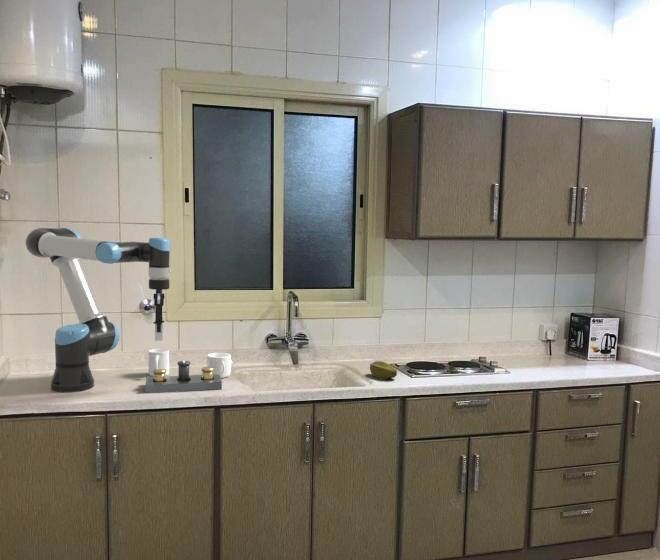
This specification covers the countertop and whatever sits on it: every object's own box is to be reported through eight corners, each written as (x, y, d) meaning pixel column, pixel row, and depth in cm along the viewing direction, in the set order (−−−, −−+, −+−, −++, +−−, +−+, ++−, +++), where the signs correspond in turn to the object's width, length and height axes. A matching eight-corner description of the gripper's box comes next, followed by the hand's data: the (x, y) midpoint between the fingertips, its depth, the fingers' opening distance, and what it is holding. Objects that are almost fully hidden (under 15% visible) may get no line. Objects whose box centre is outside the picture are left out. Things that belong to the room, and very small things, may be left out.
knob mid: (177, 381, 228) (177, 362, 227) (177, 378, 233) (177, 360, 232) (190, 380, 229) (190, 362, 229) (190, 377, 234) (190, 359, 233)
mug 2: (236, 379, 245) (237, 357, 245) (212, 381, 241) (212, 359, 240) (228, 372, 256) (228, 351, 255) (204, 374, 251) (204, 353, 251)
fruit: (369, 380, 248) (370, 364, 248) (369, 373, 260) (369, 358, 260) (397, 381, 248) (397, 365, 247) (395, 374, 260) (396, 359, 259)
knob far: (201, 387, 230) (201, 369, 230) (200, 384, 235) (201, 367, 234) (214, 386, 232) (214, 369, 231) (213, 383, 236) (213, 366, 236)
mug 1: (165, 379, 242) (165, 354, 241) (144, 379, 241) (144, 354, 241) (170, 372, 254) (170, 348, 253) (150, 372, 253) (150, 348, 252)
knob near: (152, 389, 226) (152, 371, 225) (153, 386, 230) (153, 368, 230) (166, 388, 227) (166, 371, 226) (166, 385, 232) (166, 368, 231)
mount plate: (145, 392, 222) (145, 384, 221) (146, 384, 233) (146, 377, 233) (221, 389, 229) (221, 381, 229) (219, 381, 240) (219, 374, 240)
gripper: (169, 280, 220) (168, 343, 222) (169, 277, 233) (169, 337, 235) (148, 280, 218) (147, 343, 220) (149, 277, 231) (149, 337, 233)
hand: (158, 340), depth 227 cm, fingers closed
